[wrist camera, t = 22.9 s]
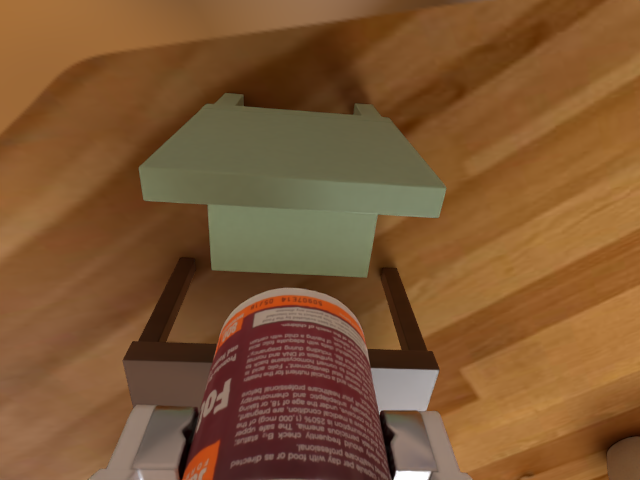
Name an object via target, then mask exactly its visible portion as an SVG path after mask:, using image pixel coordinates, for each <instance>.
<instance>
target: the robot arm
mask: <svg viewBox="0 0 640 480" xmlns="http://www.w3.org/2000/svg"><path fill="white" fill-rule="evenodd" d="M198 415H199V412H198V407H185V406H162V405H136V406H135V407H134V408H133V410H132V411H131V413H130V415H129V418H128V420H127V422H126V425H125V427H124V429H123V431H122V434H121V436H120V438H119V441H118V443H117V445H116V447H115V450H114V452H113V454H112V457H111V459H110V461H109V463H108V466H107V468H106V469H99V470H98V471H97V472H96V473H95V474H93V475H92V476H91V477H90V478H89V479H88V480H182V479H183V475H184V470H185V465H186V461H187V457H188V453H189V450H190V446H191V442H192V438H193V434H194V430H195V426H196V423H197V418H198ZM379 417H380V421H381V427H382V431H383V438H384V443H385V447H386V452H387V458H388V463H389V469H390V474H391V478H392V480H473V479H472V478H471V477H470V476H469V475H468V474H467V473H461V472H460V469H459V466H458V463H457V461H456V458H455V455H454V452H453V449H452V446H451V444H450V441H449V438H448V435H447V432H446V429H445V426H444V424H443V421H442V418H441V415H440V414H439V413H438V412H437V411H417V410H382V411H381V412H380V415H379Z"/></svg>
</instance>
